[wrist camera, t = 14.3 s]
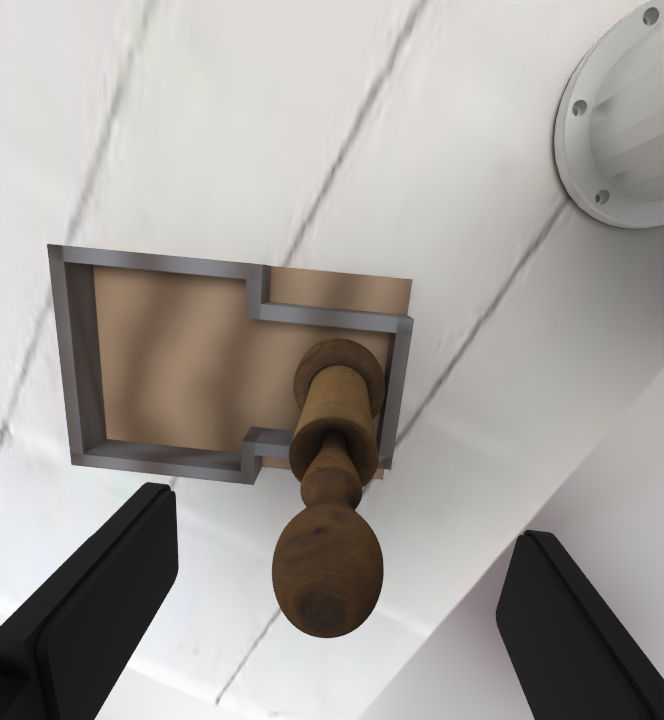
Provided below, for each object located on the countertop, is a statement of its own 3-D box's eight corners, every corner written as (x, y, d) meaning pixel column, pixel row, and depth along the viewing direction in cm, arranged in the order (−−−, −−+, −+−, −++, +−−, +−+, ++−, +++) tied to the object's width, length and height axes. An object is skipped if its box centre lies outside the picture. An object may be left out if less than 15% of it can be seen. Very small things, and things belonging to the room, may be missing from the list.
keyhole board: (409, 279, 24) (419, 279, 21) (381, 472, 28) (386, 499, 25) (88, 248, 25) (47, 244, 21) (104, 442, 28) (71, 464, 25)
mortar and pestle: (279, 382, 25) (130, 614, 8) (335, 319, 24) (305, 431, 6) (343, 435, 26) (338, 751, 9) (400, 378, 25) (531, 615, 7)
